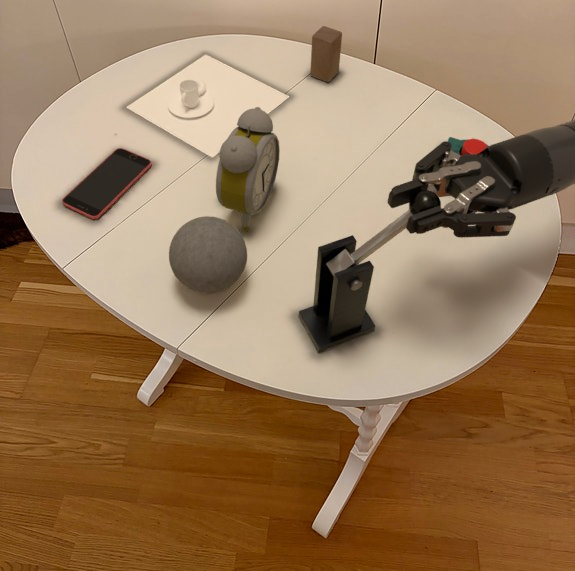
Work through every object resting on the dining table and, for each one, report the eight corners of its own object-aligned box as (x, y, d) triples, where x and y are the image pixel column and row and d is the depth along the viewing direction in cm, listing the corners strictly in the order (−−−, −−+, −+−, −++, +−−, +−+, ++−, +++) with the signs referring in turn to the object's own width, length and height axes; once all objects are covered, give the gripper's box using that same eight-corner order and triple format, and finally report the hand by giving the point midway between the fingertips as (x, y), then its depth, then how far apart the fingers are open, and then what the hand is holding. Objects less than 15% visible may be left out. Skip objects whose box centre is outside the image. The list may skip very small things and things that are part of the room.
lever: (433, 192, 67) (424, 178, 64) (450, 213, 65) (442, 199, 62) (334, 268, 70) (321, 258, 67) (347, 289, 68) (334, 280, 65)
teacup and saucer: (193, 82, 106) (190, 62, 103) (227, 100, 103) (225, 80, 100) (158, 107, 102) (154, 86, 99) (191, 126, 99) (188, 106, 96)
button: (487, 151, 91) (490, 142, 90) (481, 166, 89) (484, 157, 88) (464, 144, 92) (466, 135, 90) (457, 159, 90) (460, 150, 89)
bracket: (352, 295, 80) (364, 226, 68) (374, 330, 76) (390, 264, 65) (298, 316, 78) (301, 248, 66) (318, 353, 74) (325, 288, 63)
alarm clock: (252, 239, 85) (248, 160, 73) (209, 227, 86) (197, 147, 74) (280, 185, 92) (281, 103, 79) (239, 174, 93) (233, 92, 81)
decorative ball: (163, 266, 82) (151, 216, 74) (229, 240, 85) (224, 190, 77) (192, 320, 77) (182, 273, 69) (261, 290, 80) (259, 242, 72)
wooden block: (328, 83, 106) (331, 42, 100) (309, 76, 108) (311, 35, 101) (339, 72, 108) (343, 31, 102) (320, 65, 110) (322, 24, 103)
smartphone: (154, 161, 93) (95, 218, 86) (154, 163, 94) (96, 221, 87) (118, 145, 95) (58, 201, 88) (119, 148, 96) (59, 204, 88)
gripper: (503, 103, 68) (371, 144, 64) (586, 183, 61) (442, 236, 57) (486, 153, 74) (364, 194, 70) (560, 231, 67) (427, 282, 63)
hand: (400, 212), depth 64 cm, fingers closed on lever, 3 cm apart
